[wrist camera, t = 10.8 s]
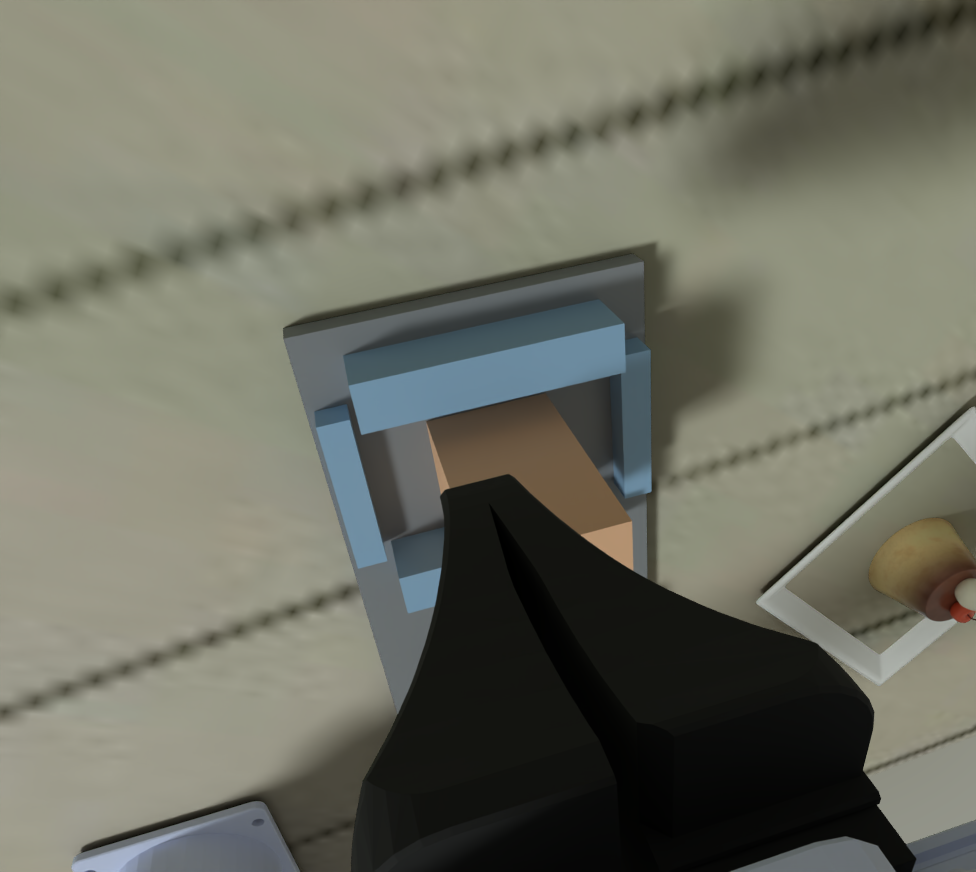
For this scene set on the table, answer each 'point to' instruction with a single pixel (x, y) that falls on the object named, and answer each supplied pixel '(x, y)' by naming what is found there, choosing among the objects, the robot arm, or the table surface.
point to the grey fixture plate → (461, 388)
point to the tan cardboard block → (533, 466)
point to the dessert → (896, 578)
